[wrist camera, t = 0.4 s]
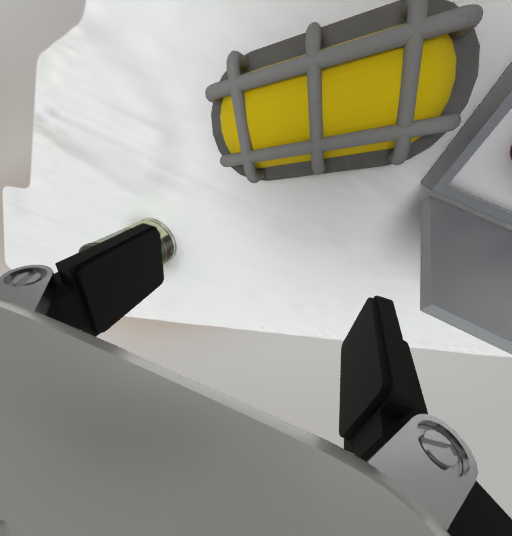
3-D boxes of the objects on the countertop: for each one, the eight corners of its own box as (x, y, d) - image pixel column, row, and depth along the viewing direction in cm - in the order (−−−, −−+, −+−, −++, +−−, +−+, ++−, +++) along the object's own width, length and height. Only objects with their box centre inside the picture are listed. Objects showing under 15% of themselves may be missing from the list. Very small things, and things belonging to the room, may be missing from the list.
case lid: (431, 304, 18) (420, 310, 19) (641, 404, 17) (617, 405, 18) (429, 195, 27) (421, 202, 28) (565, 254, 26) (552, 260, 27)
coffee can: (185, 253, 51) (138, 289, 40) (155, 265, 56) (106, 300, 45) (157, 210, 48) (97, 236, 36) (128, 227, 53) (68, 255, 41)
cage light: (179, 61, 27) (536, -71, 16) (212, 74, 33) (481, -14, 22) (211, 192, 33) (477, 160, 23) (233, 181, 40) (448, 153, 29)
